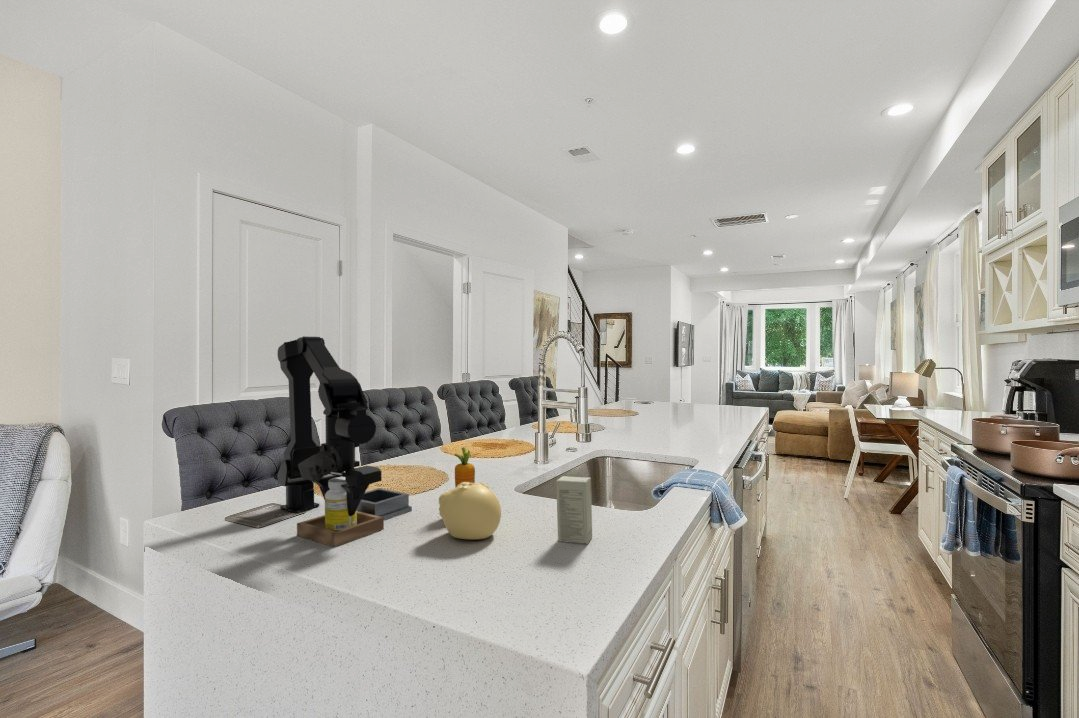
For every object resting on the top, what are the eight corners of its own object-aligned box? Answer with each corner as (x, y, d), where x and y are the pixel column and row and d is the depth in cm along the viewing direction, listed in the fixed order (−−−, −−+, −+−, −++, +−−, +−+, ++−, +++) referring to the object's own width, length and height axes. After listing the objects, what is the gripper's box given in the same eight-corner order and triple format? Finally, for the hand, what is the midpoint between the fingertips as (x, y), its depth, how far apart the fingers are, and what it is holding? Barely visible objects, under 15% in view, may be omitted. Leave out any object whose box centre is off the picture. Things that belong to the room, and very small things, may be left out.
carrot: (471, 516, 121) (471, 450, 121) (450, 515, 122) (450, 449, 122) (478, 510, 126) (478, 446, 126) (458, 508, 127) (458, 445, 127)
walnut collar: (297, 535, 109) (296, 523, 109) (346, 519, 119) (346, 508, 119) (334, 547, 102) (334, 534, 102) (383, 529, 113) (383, 517, 112)
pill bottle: (345, 525, 115) (345, 474, 115) (363, 531, 111) (362, 478, 111) (318, 533, 110) (318, 480, 110) (336, 539, 106) (336, 484, 106)
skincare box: (592, 537, 107) (592, 477, 107) (587, 545, 103) (587, 482, 103) (562, 534, 110) (562, 474, 109) (555, 541, 105) (555, 479, 105)
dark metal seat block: (341, 515, 122) (341, 497, 122) (379, 503, 131) (379, 487, 131) (374, 523, 116) (374, 505, 116) (411, 510, 126) (411, 493, 125)
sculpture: (475, 522, 117) (475, 473, 117) (512, 535, 109) (511, 483, 108) (431, 534, 109) (430, 482, 109) (466, 550, 101) (466, 493, 100)
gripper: (277, 439, 108) (277, 515, 109) (336, 448, 99) (336, 532, 99) (324, 432, 118) (325, 502, 118) (383, 439, 108) (383, 516, 108)
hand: (340, 512), depth 111 cm, fingers closed on pill bottle, 6 cm apart
